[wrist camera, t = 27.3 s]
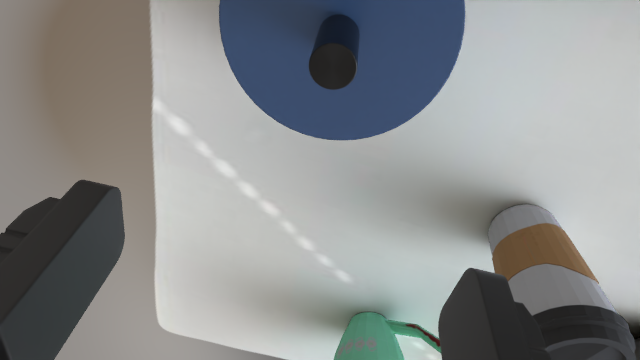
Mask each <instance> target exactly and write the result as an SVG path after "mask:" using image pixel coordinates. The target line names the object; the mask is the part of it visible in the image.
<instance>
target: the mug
mask: <svg viewBox="0 0 640 360" xmlns="http://www.w3.org/2000/svg"><path fill="white" fill-rule="evenodd" d="M395 334H399V335H406V336H412V337H418V338H422V339H423V340H424V341H425V342H427V343H428V344H429V345H431V346H432V347H433V348H435V349H436V350H437V351H439V352H440V353H441V347H440V340H439V338H438V337H436V336H434V335H433V334H431V333H430V332H428V331H427V330H425V329H424V328H422V327H421V326H419V325H417V324H411V323H405V322H398V321H392V320H387V319H386V318H385V317H384V316H382V315H380V314H378V313H374V312H362V313H359V314H356V315H355V316H354V317H352V319H351V321H350V323H349V325H348V327H347V329H346V330H345V332H344V334H343V336H342V339H341V341H340V343H339V346H338V348H337V351H336V353H335V357H334V360H404V357H403V354H402V351H401V349H400V346H399V344H398V341H397V339H396V337H395Z"/></svg>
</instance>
